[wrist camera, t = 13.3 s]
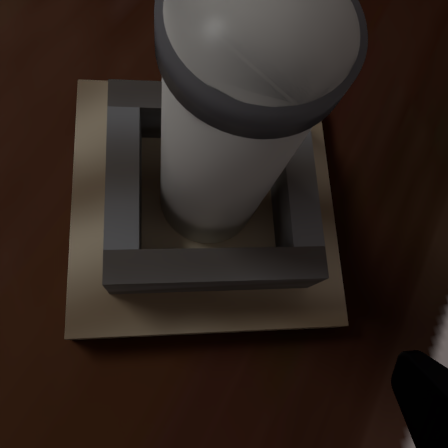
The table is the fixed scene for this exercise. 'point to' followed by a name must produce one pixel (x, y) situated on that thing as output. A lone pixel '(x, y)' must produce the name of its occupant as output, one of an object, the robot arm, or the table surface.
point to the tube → (244, 99)
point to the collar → (184, 248)
